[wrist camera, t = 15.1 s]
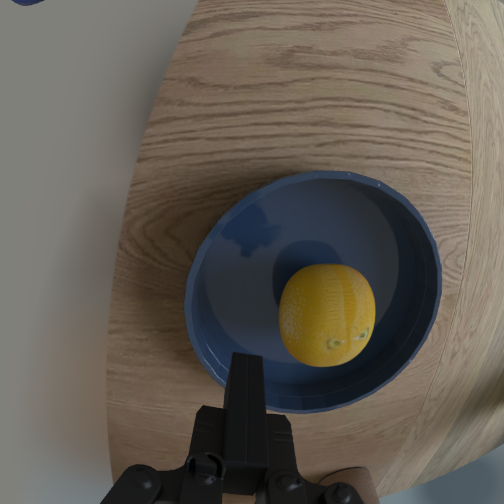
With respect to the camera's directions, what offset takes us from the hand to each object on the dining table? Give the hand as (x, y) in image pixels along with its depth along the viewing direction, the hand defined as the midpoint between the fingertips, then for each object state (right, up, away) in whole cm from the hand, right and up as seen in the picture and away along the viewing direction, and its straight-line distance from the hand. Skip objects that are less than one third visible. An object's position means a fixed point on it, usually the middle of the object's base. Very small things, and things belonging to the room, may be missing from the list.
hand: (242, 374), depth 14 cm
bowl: (+7, +2, +14) cm, 15 cm away
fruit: (+7, +2, +13) cm, 15 cm away
